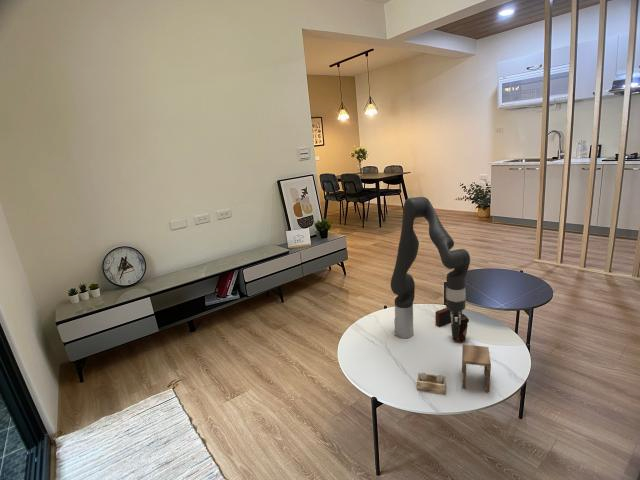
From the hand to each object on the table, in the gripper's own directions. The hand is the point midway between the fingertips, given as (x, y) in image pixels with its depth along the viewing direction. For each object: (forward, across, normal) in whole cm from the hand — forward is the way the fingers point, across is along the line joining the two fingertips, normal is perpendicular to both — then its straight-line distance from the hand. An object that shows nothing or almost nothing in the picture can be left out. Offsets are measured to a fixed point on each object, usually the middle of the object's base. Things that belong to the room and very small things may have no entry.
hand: (455, 332), depth 149 cm
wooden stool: (+20, +4, +8) cm, 22 cm away
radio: (+20, -44, -3) cm, 48 cm away
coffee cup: (+20, -28, +3) cm, 34 cm away
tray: (+20, +11, -10) cm, 25 cm away
